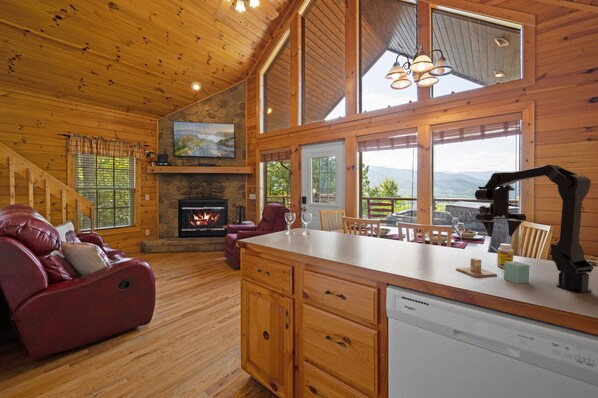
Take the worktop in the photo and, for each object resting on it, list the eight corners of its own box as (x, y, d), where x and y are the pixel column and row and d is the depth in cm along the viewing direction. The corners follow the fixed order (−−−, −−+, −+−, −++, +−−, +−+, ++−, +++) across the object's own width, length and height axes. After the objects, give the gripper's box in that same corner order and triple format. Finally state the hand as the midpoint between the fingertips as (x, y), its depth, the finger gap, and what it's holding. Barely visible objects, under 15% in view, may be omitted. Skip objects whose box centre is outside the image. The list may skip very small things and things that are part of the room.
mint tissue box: (528, 282, 98) (529, 265, 98) (517, 283, 97) (518, 265, 96) (514, 277, 103) (515, 261, 103) (503, 278, 102) (504, 262, 101)
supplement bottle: (498, 267, 116) (499, 244, 116) (496, 264, 121) (496, 242, 121) (514, 269, 113) (515, 246, 113) (511, 266, 118) (512, 243, 118)
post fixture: (496, 275, 105) (497, 261, 105) (476, 277, 103) (476, 263, 103) (475, 268, 115) (475, 255, 115) (455, 269, 113) (456, 256, 113)
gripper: (506, 200, 124) (505, 233, 124) (467, 200, 123) (467, 233, 124) (527, 201, 113) (526, 237, 113) (485, 201, 112) (484, 237, 112)
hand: (500, 236), depth 116 cm, fingers open, 9 cm apart
